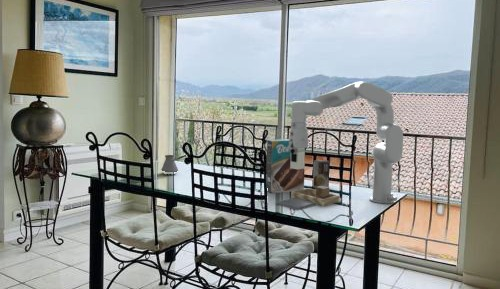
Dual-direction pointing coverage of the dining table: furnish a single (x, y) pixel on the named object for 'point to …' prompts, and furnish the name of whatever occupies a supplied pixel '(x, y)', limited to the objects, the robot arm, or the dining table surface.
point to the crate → (321, 202)
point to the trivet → (296, 203)
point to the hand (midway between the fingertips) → (297, 160)
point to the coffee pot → (170, 164)
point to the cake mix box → (282, 168)
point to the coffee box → (320, 173)
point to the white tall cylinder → (298, 159)
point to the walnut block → (322, 192)
